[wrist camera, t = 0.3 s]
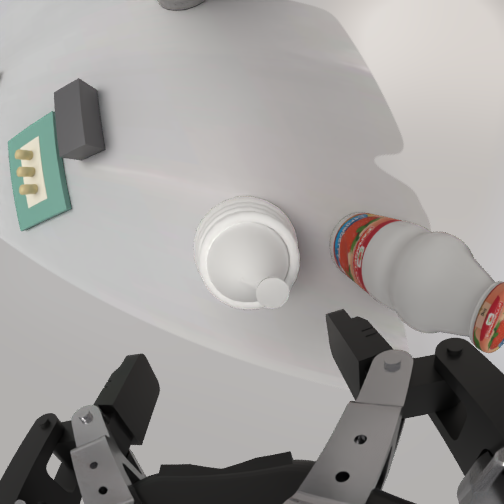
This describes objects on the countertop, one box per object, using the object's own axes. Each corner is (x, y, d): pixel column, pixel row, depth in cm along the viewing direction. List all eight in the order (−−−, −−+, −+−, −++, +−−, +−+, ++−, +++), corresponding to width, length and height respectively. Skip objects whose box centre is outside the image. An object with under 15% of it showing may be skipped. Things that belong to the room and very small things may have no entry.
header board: (12, 142, 33) (-5, 140, 28) (57, 112, 33) (40, 106, 28) (25, 229, 36) (8, 234, 32) (71, 208, 36) (53, 211, 31)
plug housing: (74, 101, 33) (54, 92, 27) (97, 90, 33) (78, 78, 27) (81, 160, 35) (59, 157, 29) (105, 149, 35) (85, 144, 29)
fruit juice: (373, 279, 41) (500, 378, 13) (319, 266, 40) (434, 386, 12) (391, 221, 39) (545, 268, 11) (337, 203, 38) (495, 235, 11)
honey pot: (305, 216, 38) (356, 237, 21) (270, 298, 41) (291, 371, 23) (217, 182, 37) (196, 174, 19) (187, 269, 39) (149, 326, 22)
